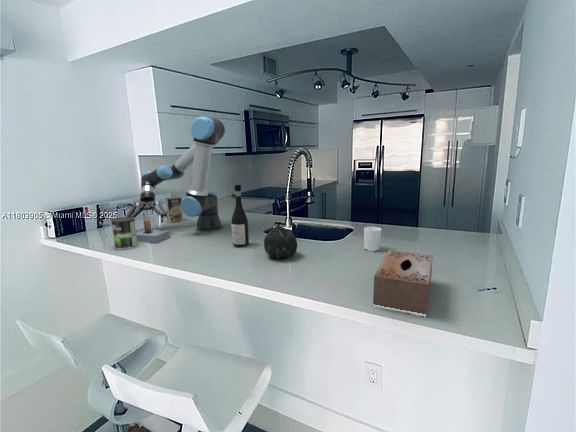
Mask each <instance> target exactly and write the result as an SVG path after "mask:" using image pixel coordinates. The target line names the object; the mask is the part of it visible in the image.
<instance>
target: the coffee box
mask: <svg viewBox="0 0 576 432" xmlns="http://www.w3.org/2000/svg"><path fill="white" fill-rule="evenodd" d="M181 201H182V197H165V198H164V204H165V205H164V206H165V211H166V213H167V216H166V222H167V223H169V224H173V223H180V222H183V221H184V216H183V211H182V209H181Z"/></svg>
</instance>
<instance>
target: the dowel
mask: <svg viewBox="0 0 576 432" xmlns="http://www.w3.org/2000/svg"><path fill="white" fill-rule="evenodd" d="M143 227H144V228H143V229H145V234H150V233H151V230H152V225H151V217H147V216H146V217H143Z"/></svg>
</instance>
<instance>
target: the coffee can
mask: <svg viewBox="0 0 576 432" xmlns="http://www.w3.org/2000/svg"><path fill="white" fill-rule="evenodd" d="M135 218H136V217H135ZM135 218H133V217H127V216H123V217H115V218H113V219H111V220H110V222H111V227H112V228H111V229H112V234H113V235H112V237H113V242H114V243H113V244H114V249H115V250H121V251H122V250H130V249H134V248H136V247H137V246H138V242H137V238H136V230H137V229H136V219H135Z"/></svg>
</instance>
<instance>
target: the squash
mask: <svg viewBox="0 0 576 432" xmlns="http://www.w3.org/2000/svg"><path fill="white" fill-rule="evenodd" d="M263 246H264V251H265V253H267V255H268V256H269V257H270V258H271V259H278V260H281V259H289V258H290V257H292V256H294V255H295V254H296V252H297V249H298V242H297V238H296V235H295V234H294V233H293V232H292V231H290V230H289V229H287V228H285V227H283V226H280V225H276V226H274V227H273V228H272V229H271V230H269V232H268V233H267V234H266V235H265V237H264V239H263Z"/></svg>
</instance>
